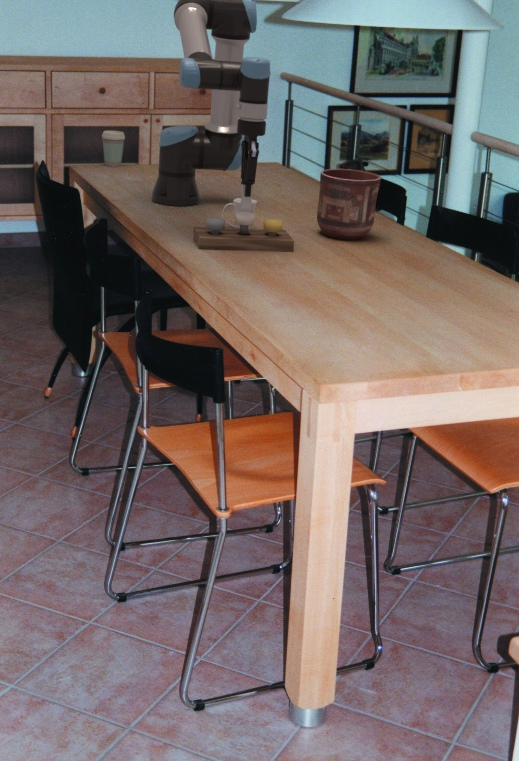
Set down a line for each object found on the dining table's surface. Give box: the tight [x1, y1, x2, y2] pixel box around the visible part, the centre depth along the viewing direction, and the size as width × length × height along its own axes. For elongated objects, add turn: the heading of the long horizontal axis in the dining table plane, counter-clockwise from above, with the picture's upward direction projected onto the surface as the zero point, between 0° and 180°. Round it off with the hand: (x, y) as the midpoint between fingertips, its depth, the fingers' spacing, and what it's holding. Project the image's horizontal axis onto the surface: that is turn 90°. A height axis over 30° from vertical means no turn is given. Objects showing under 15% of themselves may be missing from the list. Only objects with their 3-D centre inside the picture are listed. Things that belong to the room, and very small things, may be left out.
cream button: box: [234, 212, 255, 234], centre depth 269 cm, size 5×5×5 cm
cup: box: [221, 197, 258, 229], centre depth 287 cm, size 7×10×8 cm
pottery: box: [316, 168, 382, 241], centre depth 287 cm, size 18×18×18 cm
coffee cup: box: [101, 130, 126, 168], centre depth 359 cm, size 8×9×12 cm
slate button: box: [205, 216, 226, 235], centre depth 268 cm, size 5×5×5 cm
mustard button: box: [262, 218, 283, 236], centre depth 271 cm, size 5×5×5 cm
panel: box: [193, 226, 295, 252], centre depth 271 cm, size 12×26×3 cm, turn 101°
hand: (245, 207), depth 267 cm, fingers closed
